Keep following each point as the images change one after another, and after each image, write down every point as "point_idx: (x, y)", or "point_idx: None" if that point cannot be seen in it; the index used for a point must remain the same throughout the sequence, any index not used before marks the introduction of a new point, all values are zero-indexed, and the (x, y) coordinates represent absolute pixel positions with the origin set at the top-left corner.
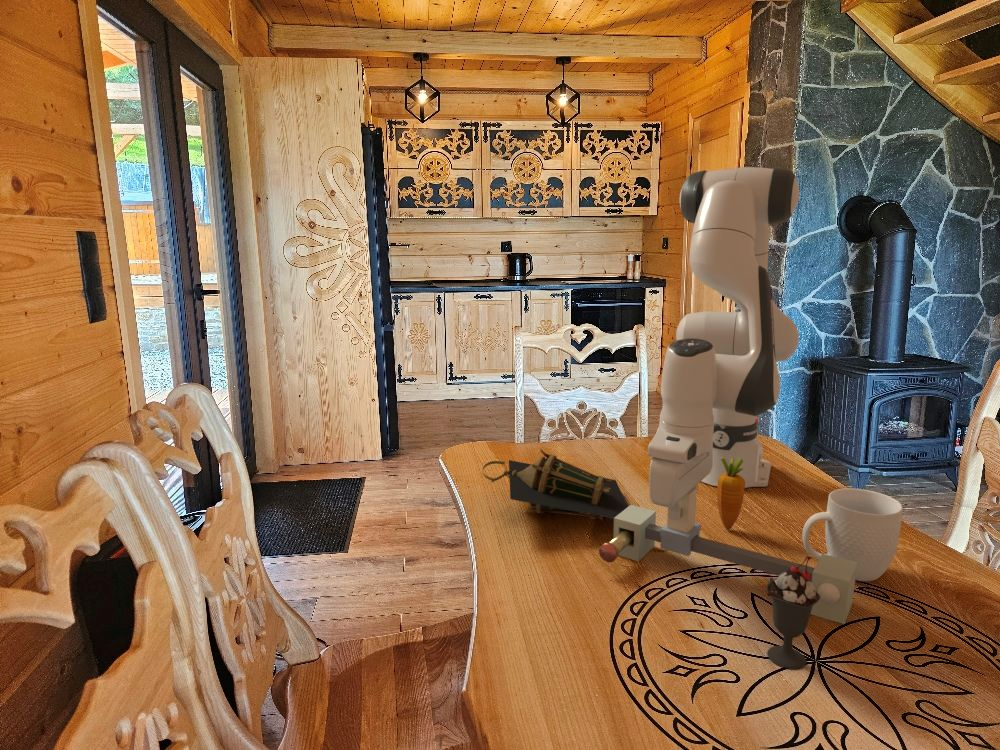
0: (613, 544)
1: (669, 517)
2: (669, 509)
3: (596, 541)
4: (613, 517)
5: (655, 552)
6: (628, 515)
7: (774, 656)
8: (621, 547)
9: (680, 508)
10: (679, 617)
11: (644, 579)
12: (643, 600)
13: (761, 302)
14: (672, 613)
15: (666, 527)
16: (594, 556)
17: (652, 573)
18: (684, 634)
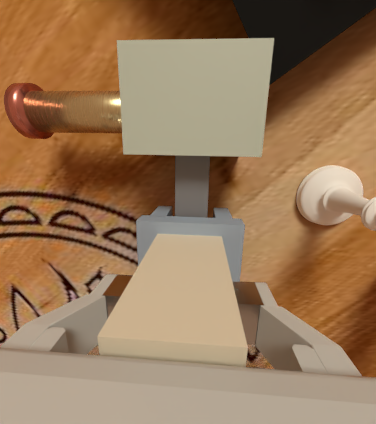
0: (35, 115)
1: (108, 274)
2: (91, 293)
3: (187, 14)
4: (244, 2)
5: (212, 169)
6: (171, 81)
7: None
8: (72, 131)
9: (96, 343)
10: (39, 276)
11: (100, 192)
12: (40, 217)
13: None
14: (41, 265)
15: (158, 231)
16: (116, 54)
17: (128, 197)
18: (9, 292)
